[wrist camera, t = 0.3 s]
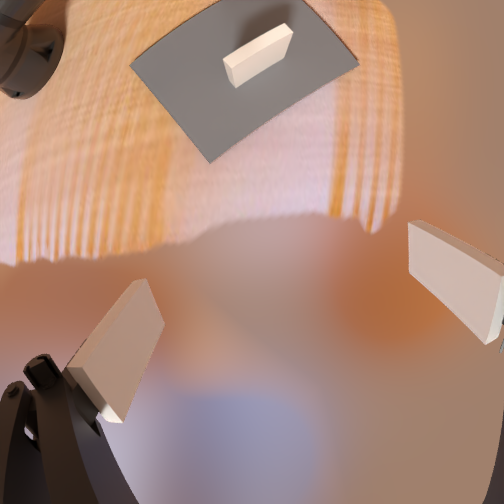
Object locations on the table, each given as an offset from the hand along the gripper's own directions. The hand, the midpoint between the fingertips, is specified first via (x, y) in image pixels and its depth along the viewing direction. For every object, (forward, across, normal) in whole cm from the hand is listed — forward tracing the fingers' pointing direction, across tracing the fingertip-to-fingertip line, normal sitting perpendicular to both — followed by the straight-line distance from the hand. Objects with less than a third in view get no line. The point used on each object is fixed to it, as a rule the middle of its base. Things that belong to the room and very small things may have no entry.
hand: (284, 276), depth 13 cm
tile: (+26, +3, +18) cm, 31 cm away
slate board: (+27, +2, +20) cm, 34 cm away
